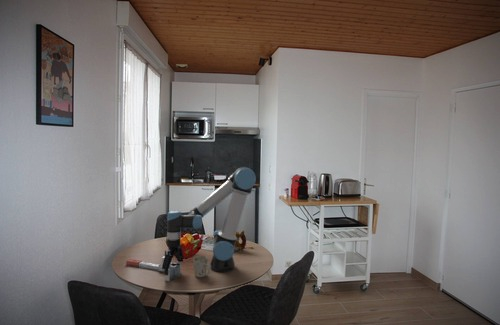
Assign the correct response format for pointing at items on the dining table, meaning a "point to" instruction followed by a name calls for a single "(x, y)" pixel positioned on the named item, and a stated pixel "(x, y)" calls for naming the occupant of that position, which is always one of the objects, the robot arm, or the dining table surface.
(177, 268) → the socket
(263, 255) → the dining table surface
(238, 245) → the mug
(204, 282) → the dining table surface
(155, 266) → the ratchet
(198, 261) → the mug
